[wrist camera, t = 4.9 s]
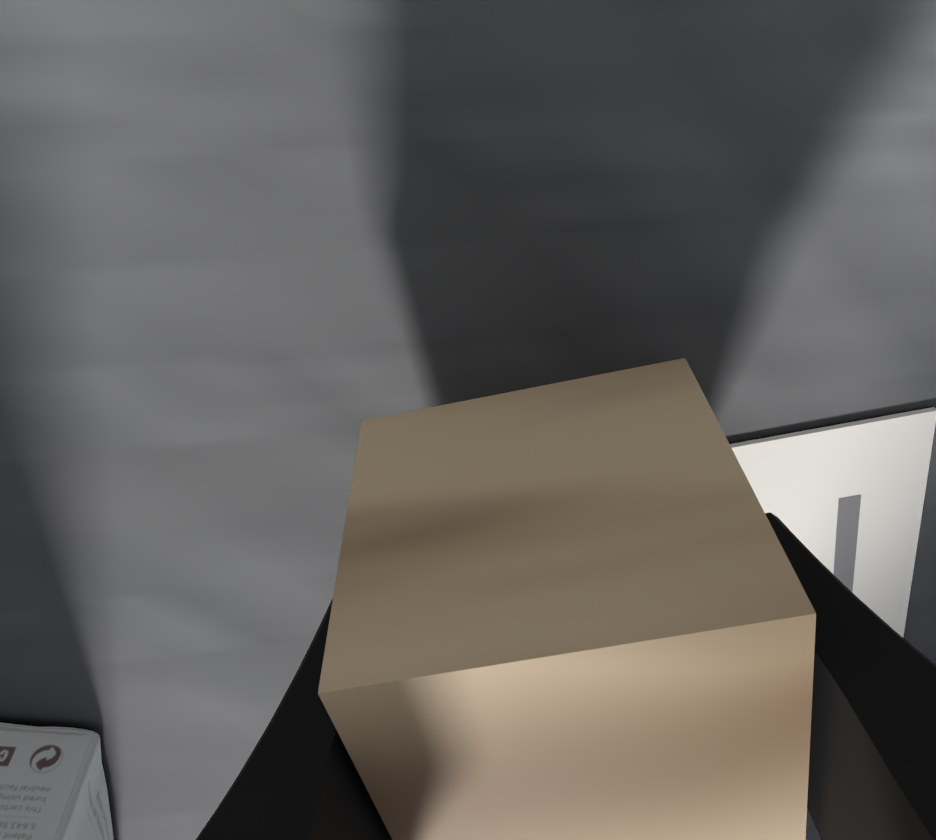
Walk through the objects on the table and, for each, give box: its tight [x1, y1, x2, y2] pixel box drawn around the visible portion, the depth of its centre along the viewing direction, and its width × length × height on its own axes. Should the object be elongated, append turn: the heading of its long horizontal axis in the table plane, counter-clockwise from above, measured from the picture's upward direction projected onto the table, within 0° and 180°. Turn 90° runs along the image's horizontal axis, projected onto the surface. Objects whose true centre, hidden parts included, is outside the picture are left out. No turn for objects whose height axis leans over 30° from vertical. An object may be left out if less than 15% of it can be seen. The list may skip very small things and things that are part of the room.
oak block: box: [318, 358, 816, 840], centre depth 11 cm, size 5×5×5 cm
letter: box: [730, 407, 936, 637], centre depth 19 cm, size 12×9×1 cm
